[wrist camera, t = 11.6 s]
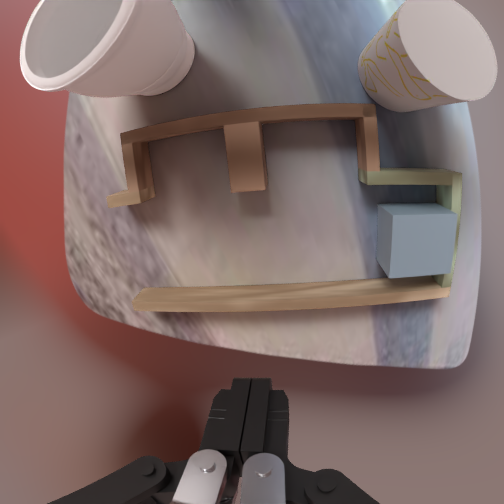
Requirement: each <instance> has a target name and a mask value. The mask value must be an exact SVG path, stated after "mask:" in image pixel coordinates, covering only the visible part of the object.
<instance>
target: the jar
mask: <svg viewBox="0 0 504 504" xmlns="http://www.w3.org/2000/svg"><path fill="white" fill-rule="evenodd" d="M194 54H195V48H194V43H193V40H192V38H191V36H190V35H189V34H188V33H187V32H186V30H185V27H184V25H183V22H182V20H181V19H180V17H179V14H178V12H177V10H176V8H175V6H174V5H173V3H172V2H171V0H40V2H39V3H38V5H37V6H36V8H35V10H34V11H33V13H32V15H31V17H30V19H29V21H28V23H27V26H26V28H25V31H24V34H23V38H22V42H21V48H20V65H21V70H22V73H23V75H24V78H25V79H26V80H27V82H28V83H29V84H30V85H31V86H32V87H34V88H36V89H39V90H43V91H50V92H52V91H60V90H64V89H65V90H68V91H70V92H73V93H77V94H81V95H85V96H91V97H119V96H132V95H139V94H140V95H145V96H152V95H158V94H161V93H164V92H166V91H168V90H170V89H172V88H173V87H175V86H176V85H177V84H178V83H180V82H181V81H182V80H183V78H184V77H185V76H186V75H187V73H188V71H189V70H190V68H191V66H192V63H193V60H194Z"/></svg>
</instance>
